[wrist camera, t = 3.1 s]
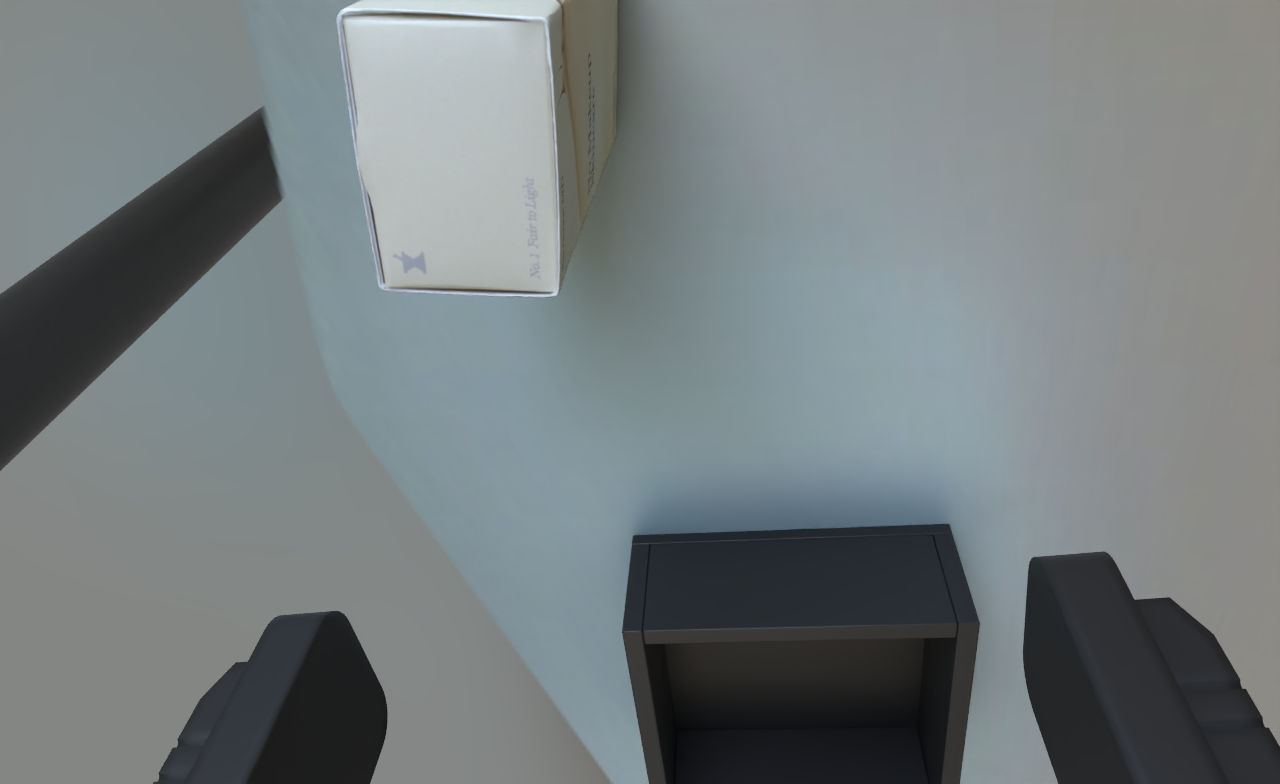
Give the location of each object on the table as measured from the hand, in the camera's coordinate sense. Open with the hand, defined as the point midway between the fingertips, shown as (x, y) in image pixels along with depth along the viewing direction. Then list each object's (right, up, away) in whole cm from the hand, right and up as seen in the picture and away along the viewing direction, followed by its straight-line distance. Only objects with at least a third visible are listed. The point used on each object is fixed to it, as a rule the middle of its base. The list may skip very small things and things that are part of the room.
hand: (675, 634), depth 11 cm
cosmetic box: (-3, +14, +19) cm, 24 cm away
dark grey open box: (+7, -9, +33) cm, 35 cm away
